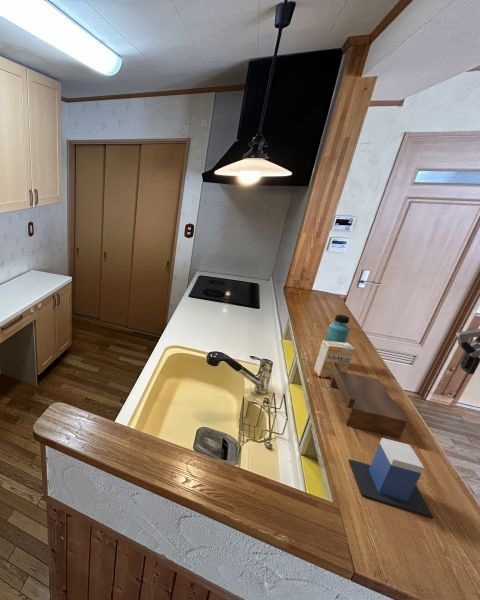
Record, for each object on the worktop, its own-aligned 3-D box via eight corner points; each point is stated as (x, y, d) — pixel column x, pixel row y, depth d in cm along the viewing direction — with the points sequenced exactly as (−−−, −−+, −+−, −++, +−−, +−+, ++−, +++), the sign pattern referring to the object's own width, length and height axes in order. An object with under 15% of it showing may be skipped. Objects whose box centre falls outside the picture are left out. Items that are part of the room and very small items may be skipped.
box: (394, 477, 77) (409, 444, 74) (407, 502, 71) (424, 467, 68) (368, 469, 79) (381, 437, 76) (378, 493, 73) (393, 459, 70)
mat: (409, 478, 77) (410, 476, 77) (432, 518, 68) (433, 516, 68) (348, 460, 82) (348, 458, 82) (361, 496, 73) (362, 494, 73)
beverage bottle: (337, 360, 128) (352, 314, 121) (340, 368, 123) (355, 320, 116) (317, 356, 131) (331, 311, 124) (319, 364, 126) (333, 317, 119)
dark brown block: (372, 394, 108) (381, 371, 105) (399, 438, 89) (411, 412, 86) (325, 384, 113) (332, 362, 110) (341, 424, 95) (350, 398, 92)
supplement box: (318, 377, 117) (328, 345, 112) (313, 370, 121) (322, 339, 117) (344, 380, 115) (355, 348, 111) (338, 373, 120) (348, 342, 115)
